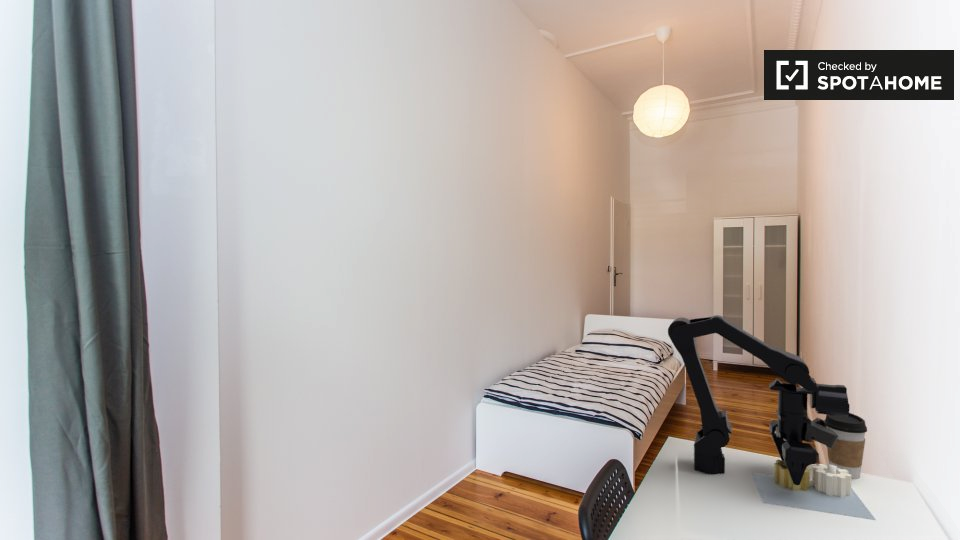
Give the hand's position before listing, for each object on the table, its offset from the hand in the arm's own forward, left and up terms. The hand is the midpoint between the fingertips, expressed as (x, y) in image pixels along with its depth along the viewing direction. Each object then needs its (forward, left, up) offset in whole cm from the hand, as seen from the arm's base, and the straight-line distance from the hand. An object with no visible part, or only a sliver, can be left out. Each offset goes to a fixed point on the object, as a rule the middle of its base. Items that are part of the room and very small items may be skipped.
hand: (791, 475), depth 112 cm
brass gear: (0, 0, -2) cm, 2 cm away
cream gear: (+8, 0, -2) cm, 8 cm away
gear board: (+2, -4, -3) cm, 5 cm away
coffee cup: (+13, +10, -3) cm, 17 cm away
